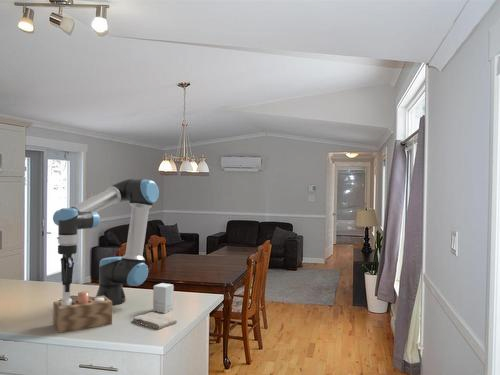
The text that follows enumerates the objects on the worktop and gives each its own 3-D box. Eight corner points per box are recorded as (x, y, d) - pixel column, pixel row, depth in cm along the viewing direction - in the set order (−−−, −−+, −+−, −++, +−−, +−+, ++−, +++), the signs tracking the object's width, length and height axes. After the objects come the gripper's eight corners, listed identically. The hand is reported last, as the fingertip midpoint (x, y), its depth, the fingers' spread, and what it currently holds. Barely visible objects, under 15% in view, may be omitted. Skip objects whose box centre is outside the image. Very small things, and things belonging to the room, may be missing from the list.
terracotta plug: (86, 311, 203) (87, 291, 203) (89, 313, 199) (89, 293, 199) (76, 312, 200) (76, 292, 200) (79, 315, 197) (79, 294, 197)
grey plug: (70, 318, 199) (70, 297, 199) (72, 320, 195) (73, 300, 195) (59, 319, 196) (59, 299, 196) (61, 322, 193) (62, 301, 193)
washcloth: (150, 316, 215) (150, 310, 215) (178, 324, 205) (178, 317, 205) (130, 322, 206) (130, 315, 206) (159, 330, 196) (159, 323, 195)
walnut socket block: (103, 316, 211) (104, 295, 211) (112, 324, 201) (112, 301, 201) (53, 324, 198) (53, 301, 198) (59, 332, 189) (59, 308, 188)
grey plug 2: (102, 316, 207) (102, 297, 207) (105, 319, 203) (105, 299, 203) (92, 318, 204) (92, 298, 204) (95, 320, 201) (95, 300, 201)
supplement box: (173, 309, 226) (174, 284, 226) (164, 313, 219) (165, 287, 219) (161, 307, 229) (162, 282, 229) (152, 311, 222) (152, 285, 222)
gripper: (54, 242, 198) (53, 296, 199) (61, 246, 188) (60, 303, 188) (72, 241, 203) (71, 294, 203) (80, 245, 192) (79, 301, 192)
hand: (66, 298), depth 196 cm, fingers closed
